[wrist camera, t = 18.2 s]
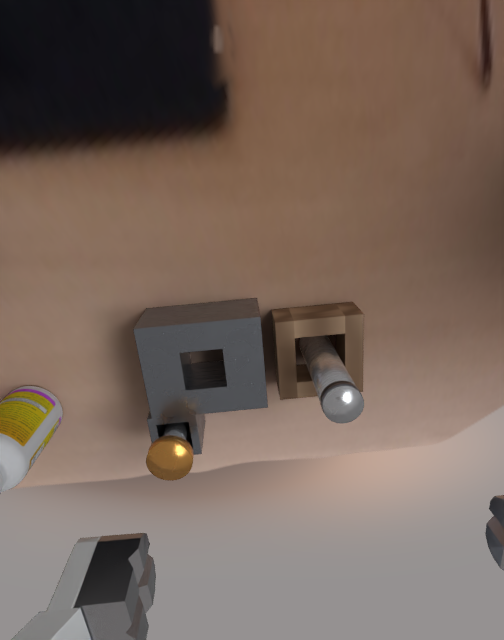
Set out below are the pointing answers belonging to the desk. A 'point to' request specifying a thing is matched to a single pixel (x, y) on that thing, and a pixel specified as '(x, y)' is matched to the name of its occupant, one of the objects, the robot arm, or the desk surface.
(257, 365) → the socket block
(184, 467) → the gold knob
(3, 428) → the supplement bottle
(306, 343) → the cylindrical peg
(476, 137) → the desk surface
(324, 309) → the square frame block
